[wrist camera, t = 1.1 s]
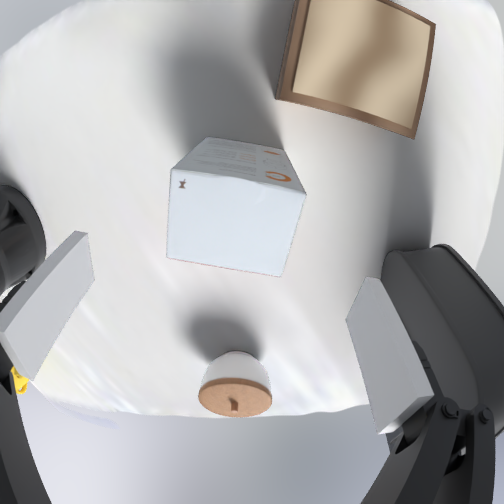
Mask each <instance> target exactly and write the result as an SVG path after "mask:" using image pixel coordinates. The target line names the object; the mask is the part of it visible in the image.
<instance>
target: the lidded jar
mask: <svg viewBox="0 0 504 504" xmlns="http://www.w3.org/2000/svg"><path fill="white" fill-rule="evenodd" d="M198 398H199V401H200V403H201V404H202V405H203V406H204V407H205V408H206V409H208V410H210V411H211V412H214V413H216V414H219V415H223V416H229V417H249V416H254V415H258V414H261V413H263V412H264V411H266V410H267V409H268V408H269V407H270V406H271V404H272V395H271V386H270V380H269V377H268V374H267V371H266V369H265V368H264V366H263V365H262V364H261V363H260V362H259V361H258V360H256V359H255V358H254V357H253V356H252V355H250V354H248V353H246V352H242V351H230V352H227V353H224V354H223V355H221V356H220V357H218V358H216V359H215V360H214V361H213V362H212V363H211V364H210V365H209V366H208V367H207V369H206V371H205V373H204V376H203V379H202V383H201V388H200V390H199V395H198Z"/></svg>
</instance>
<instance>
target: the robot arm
mask: <svg viewBox="0 0 504 504" xmlns="http://www.w3.org/2000/svg"><path fill="white" fill-rule="evenodd" d="M45 256H46V242H45V236H44V232H43V229H42V226H41V223H40V221H39V218H38V216H37V214H36V212H35V211H34V209H33V207H32V206H31V204H30V203H29V202H28V200H27V199H26V198H25V197H24V196H23V195H22V194H21V193H20V192H19V191H17V190H16V189H14V188H12V187H10V186H0V296H1V294H2V293H3V292H4V291H5V290H6V289H8V288H10V287H12V286H14V285H16V284H17V285H16V286H14V288H13V289H12V290H11V291H10V292H9V293H8V296H6V297H5V298H4V299H3V301H2V303H0V504H52V503H51V501H50V499H49V497H48V494H47V492H46V490H45V488H44V485H43V483H42V480H41V478H40V475H39V473H38V470H37V467H36V465H35V462H34V459H33V456H32V453H31V450H30V447H29V444H28V440H27V437H26V433H25V430H24V426H23V422H22V418H21V414H20V409H19V405H18V400H17V395H16V389H15V383H14V377H13V374H12V372H11V369H12V368H13V366H14V367H15V368H16V370H17V371H18V373H19V374H20V375H21V376H23V377H25V378H27V379H29V380H32V381H33V380H34V378H35V376H36V375H37V373H38V371H39V369H40V367H41V365H42V363H43V362H44V360H45V358H46V356H47V354H48V353H49V351H50V349H51V347H52V346H53V344H54V342H55V341H56V339H57V337H58V335H59V334H60V332H61V331H62V329H63V327H64V326H65V324H66V322H67V321H68V319H69V318H70V316H71V315H72V313H73V311H74V310H75V308H76V307H77V305H78V304H79V302H80V301H81V299H82V298H83V296H84V295H85V293H86V292H87V290H88V289H89V288H90V286H91V285H92V283H93V282H94V280H95V279H94V273H93V268H92V261H91V255H90V248H89V240H88V233H85V232H79V231H74V232H73V233H72V234H71V235H70V236H69V237H68V238H67V239H66V240H65V241H64V242H63V243H62V244H61V245H60V246H59V247H58V248H57V249H56V250H55V251H54V252H53V253H52V254H51V255H50V256H49V257H48V258H47V259H46V260H45ZM44 260H45V261H44ZM27 279H28V280H27ZM25 280H27V281H25ZM20 282H21V283H20ZM18 283H19V284H18ZM346 322H347V325H348V328H349V332H350V335H351V338H352V341H353V345H354V348H355V351H356V355H357V358H358V362H359V365H360V369H361V372H362V376H363V379H364V383H365V387H366V391H367V394H368V398H369V402H370V406H371V410H372V414H373V418H374V422H375V426H376V431H377V434H384V433H391V432H394V431H395V430H396V429H397V428H399V427H400V426H401V425H402V428H403V432H401V433H400V434H399V435H398V436H396V437H395V438H394V439H392V440H391V442H390V443H389V444H390V445H391V444H393V443H394V442H395V441H396V443H395V445H394V447H393V449H392V451H391V453H390V455H389V457H388V458H387V460H386V462H385V464H384V466H383V468H382V470H381V471H380V473H379V475H378V477H377V478H376V480H375V482H374V483H373V485H372V486H371V488H370V490H369V492H368V493H367V494H366V496H365V498H364V499H363V501H362V502H361V504H492V500H493V490H494V477H495V425H494V416H493V413H492V411H491V409H490V408H489V407H488V406H487V405H485V404H478V405H477V406H475V407H474V408H473V409H472V410H471V411H470V410H464V409H460V408H459V406H458V405H457V403H456V402H455V401H454V400H452V399H451V398H448V397H444V395H443V393H442V391H441V388H440V386H439V384H438V381H437V379H436V377H435V374H434V372H433V370H432V369H431V365H430V363H429V361H427V360H428V359H427V357H426V354H425V352H424V350H423V349H422V348H421V346H420V345H419V344H418V343H417V342H416V341H411V340H410V338H409V336H408V333H407V331H406V329H405V327H404V325H403V323H402V321H401V319H400V317H399V315H398V313H397V311H396V309H395V307H394V305H393V303H392V301H391V299H390V298H389V296H388V294H387V292H386V290H385V288H384V286H383V284H382V283H381V281H380V279H379V278H372V277H365V280H364V282H363V284H362V286H361V288H360V291H359V293H358V295H357V297H356V299H355V301H354V303H353V305H352V307H351V309H350V311H349V313H348V315H347V317H346ZM465 447H466V451H465V454H464V455H461V450H462V449H464V448H465Z"/></svg>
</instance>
